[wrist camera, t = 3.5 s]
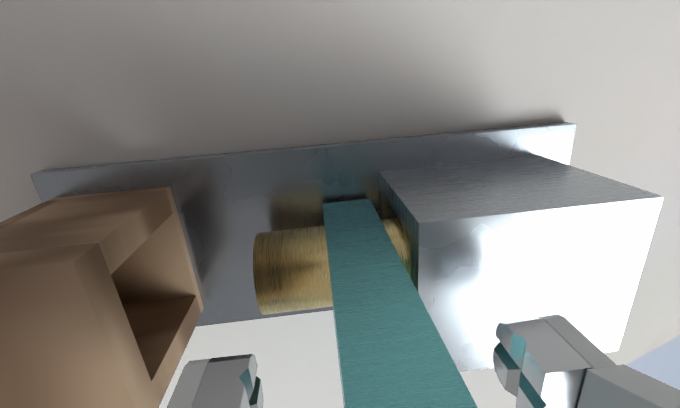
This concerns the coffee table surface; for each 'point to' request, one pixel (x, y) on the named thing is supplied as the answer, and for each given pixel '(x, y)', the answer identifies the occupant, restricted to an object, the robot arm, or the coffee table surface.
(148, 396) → the socket
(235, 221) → the grey base plate
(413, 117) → the coffee table surface
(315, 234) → the rod
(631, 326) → the coffee table surface
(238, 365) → the robot arm
